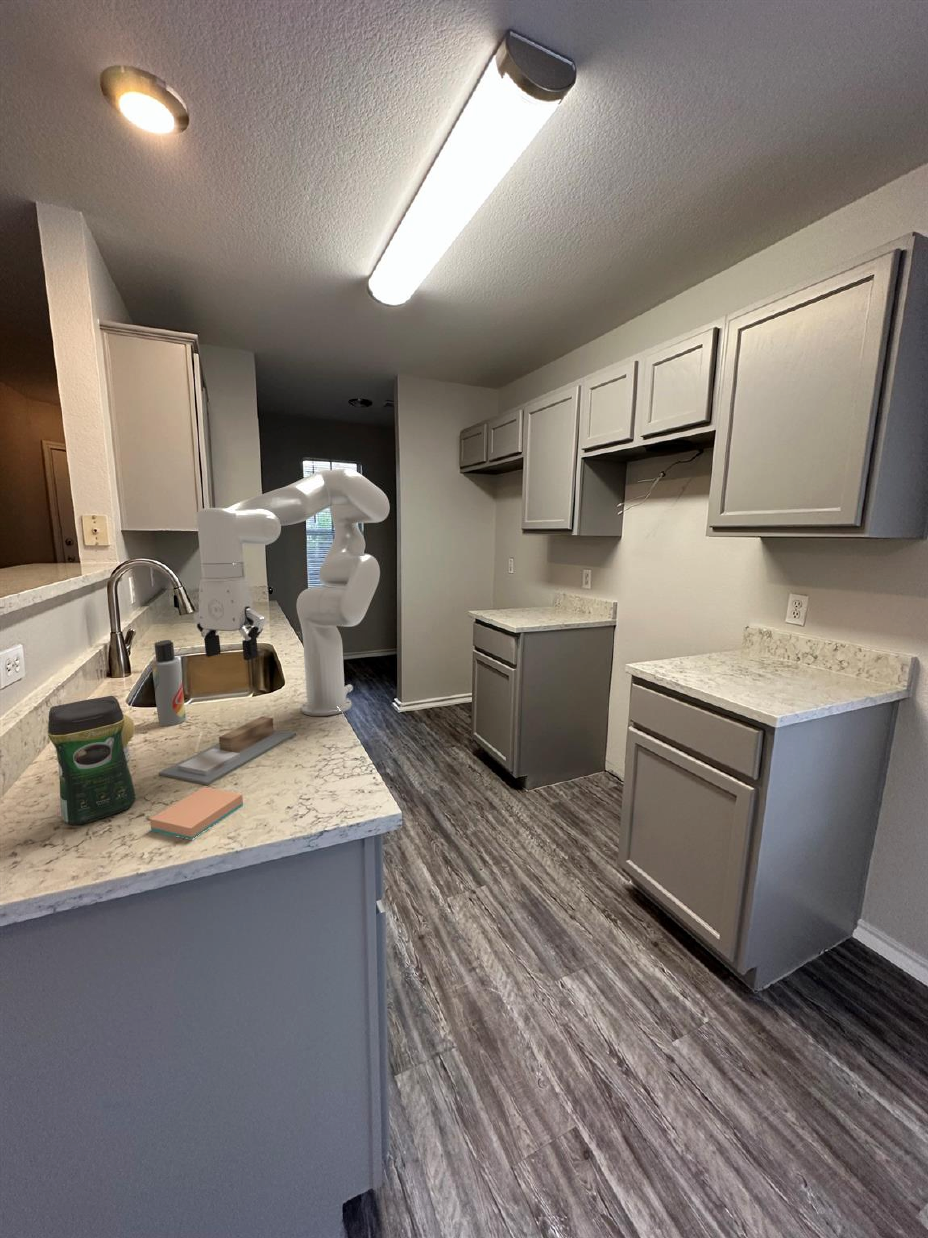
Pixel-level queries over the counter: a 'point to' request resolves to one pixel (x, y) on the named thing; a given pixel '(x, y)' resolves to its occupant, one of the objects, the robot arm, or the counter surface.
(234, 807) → the kitchen sponge
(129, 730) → the light bulb
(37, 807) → the counter surface
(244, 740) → the turner
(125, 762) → the coffee jar
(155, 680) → the lotion bottle
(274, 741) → the mat
